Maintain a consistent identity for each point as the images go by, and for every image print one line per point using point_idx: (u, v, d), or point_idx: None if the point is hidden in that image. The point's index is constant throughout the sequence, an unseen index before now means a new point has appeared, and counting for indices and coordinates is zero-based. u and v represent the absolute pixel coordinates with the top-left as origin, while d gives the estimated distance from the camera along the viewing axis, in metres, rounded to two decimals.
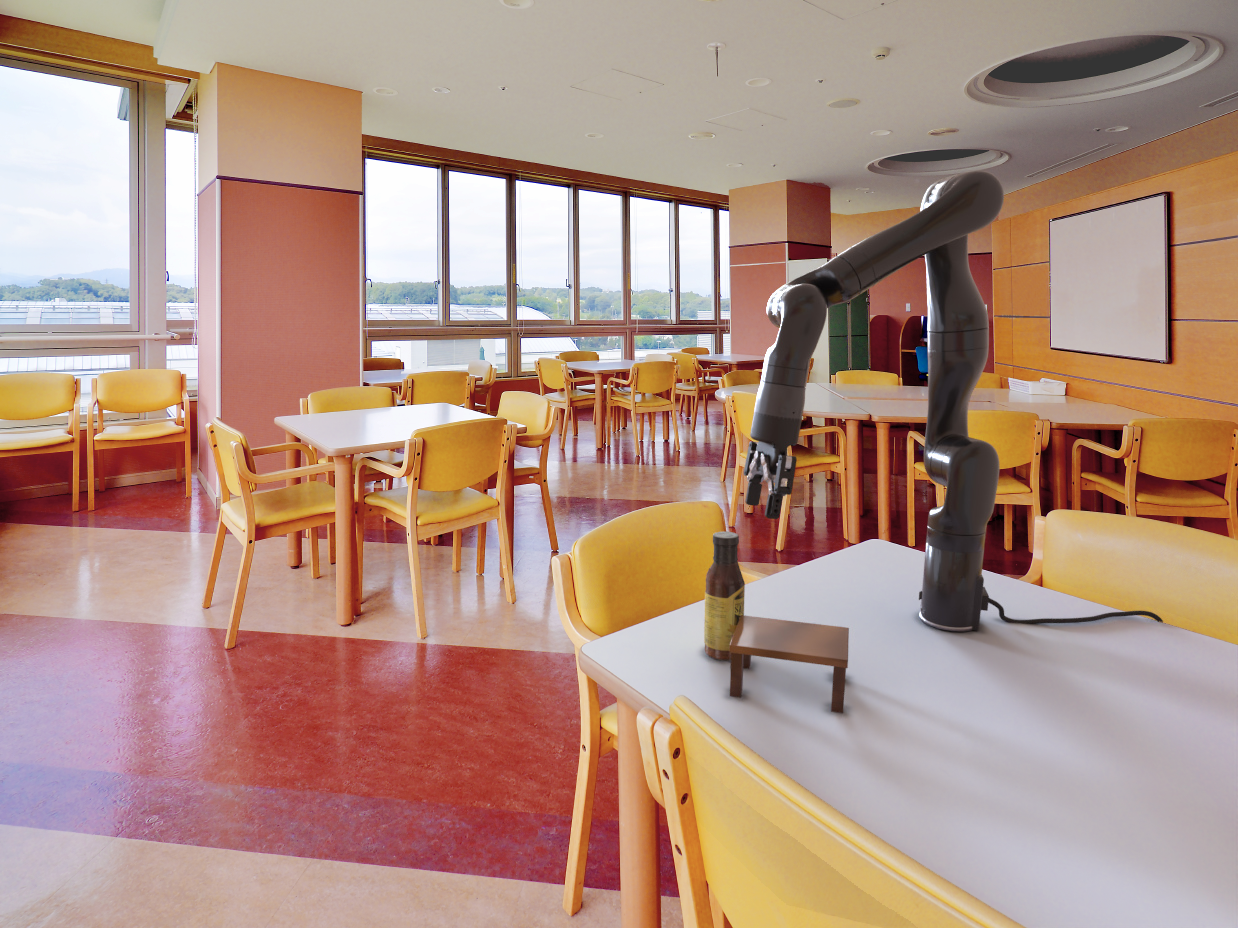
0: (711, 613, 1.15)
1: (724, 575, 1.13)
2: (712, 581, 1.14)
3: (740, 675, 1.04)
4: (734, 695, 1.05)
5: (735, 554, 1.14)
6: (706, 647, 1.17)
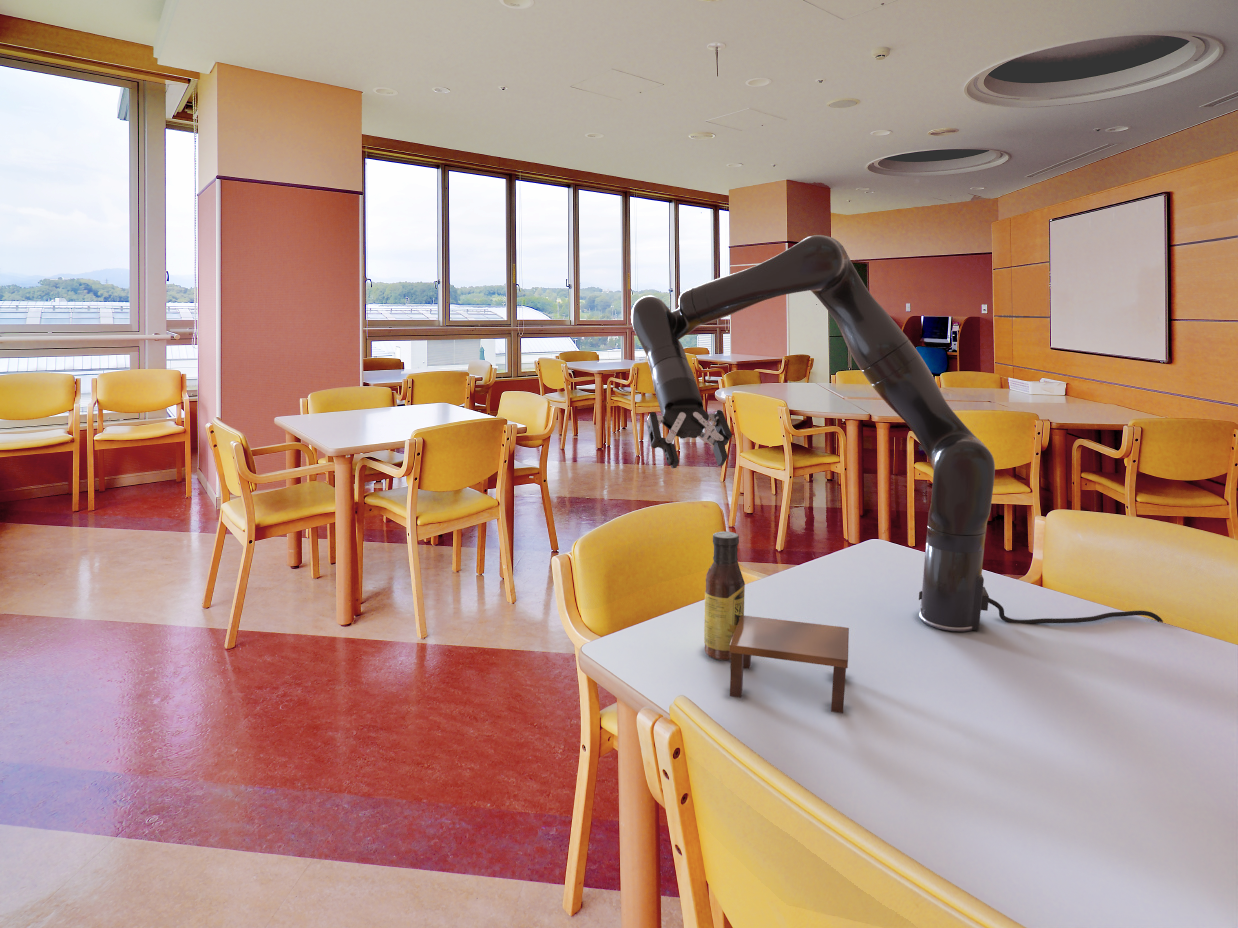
0: (711, 613, 1.15)
1: (724, 575, 1.13)
2: (712, 581, 1.14)
3: (740, 675, 1.04)
4: (734, 695, 1.05)
5: (735, 554, 1.14)
6: (706, 647, 1.17)
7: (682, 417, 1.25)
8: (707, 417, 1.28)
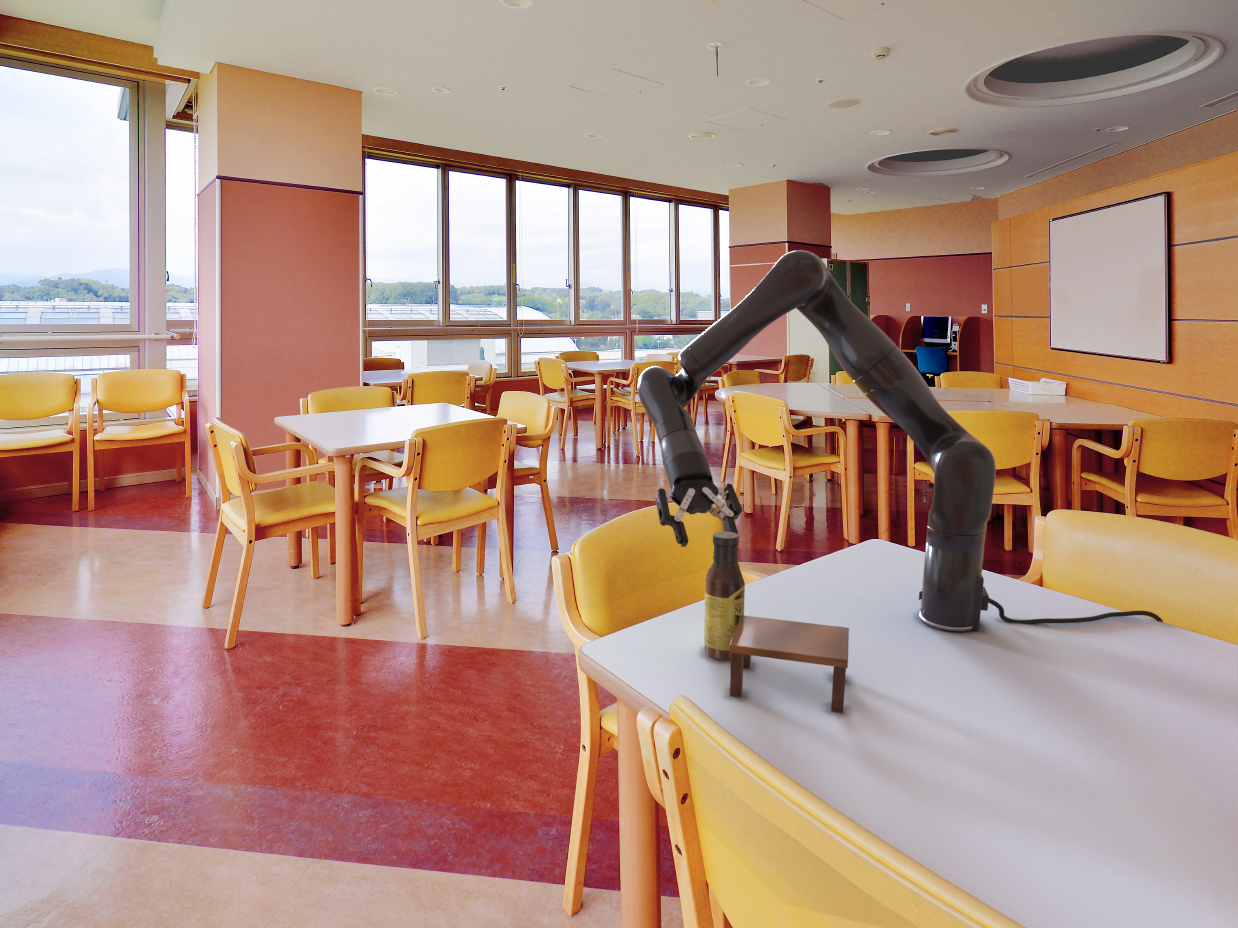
0: (711, 613, 1.15)
1: (724, 575, 1.13)
2: (712, 581, 1.14)
3: (740, 675, 1.04)
4: (734, 695, 1.05)
5: (735, 554, 1.14)
6: (706, 647, 1.17)
7: (691, 493, 1.24)
8: (717, 491, 1.26)
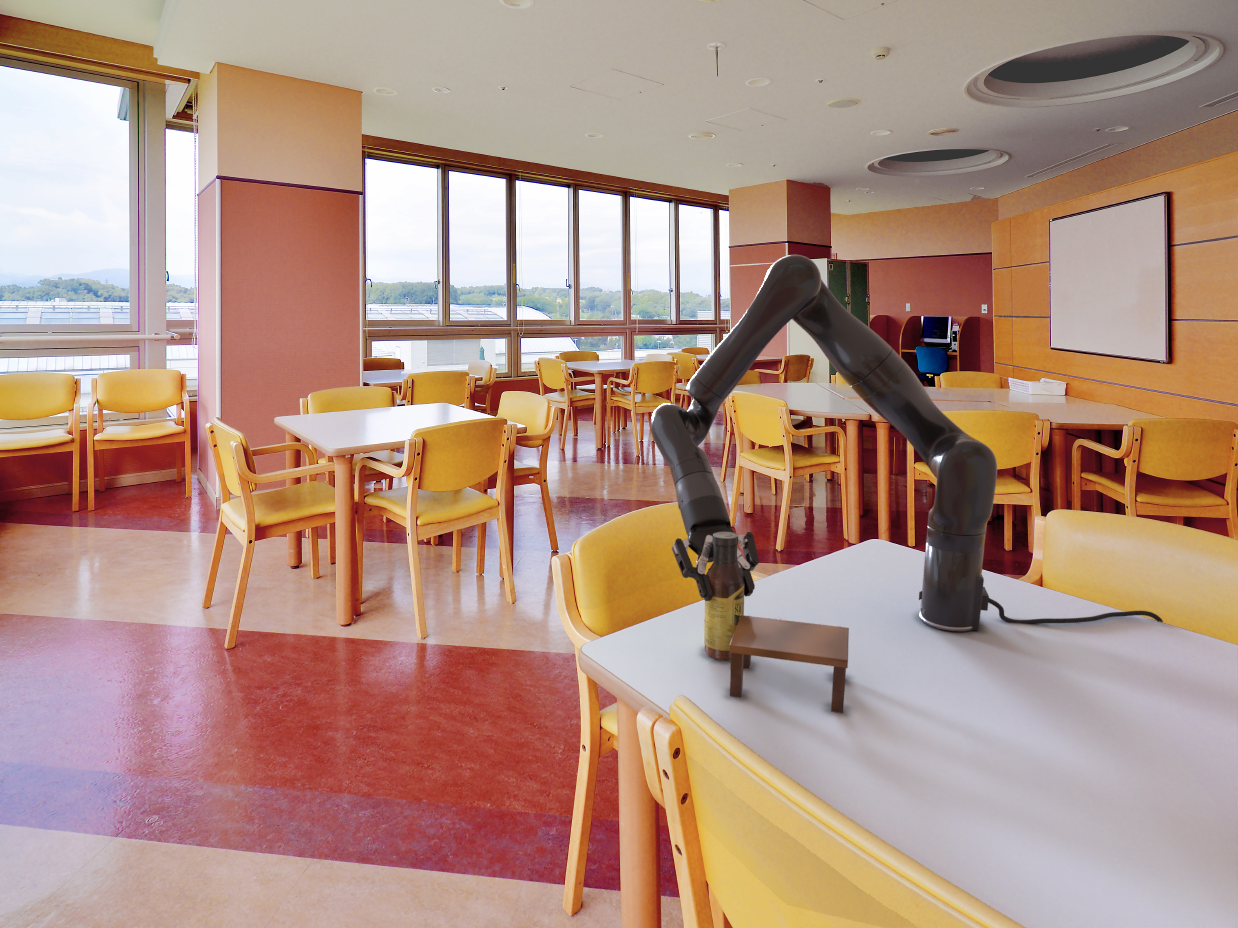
0: (711, 613, 1.15)
1: (724, 575, 1.13)
2: (711, 581, 1.14)
3: (740, 675, 1.04)
4: (734, 695, 1.05)
5: (735, 554, 1.14)
6: (706, 647, 1.17)
7: (709, 541, 1.17)
8: None
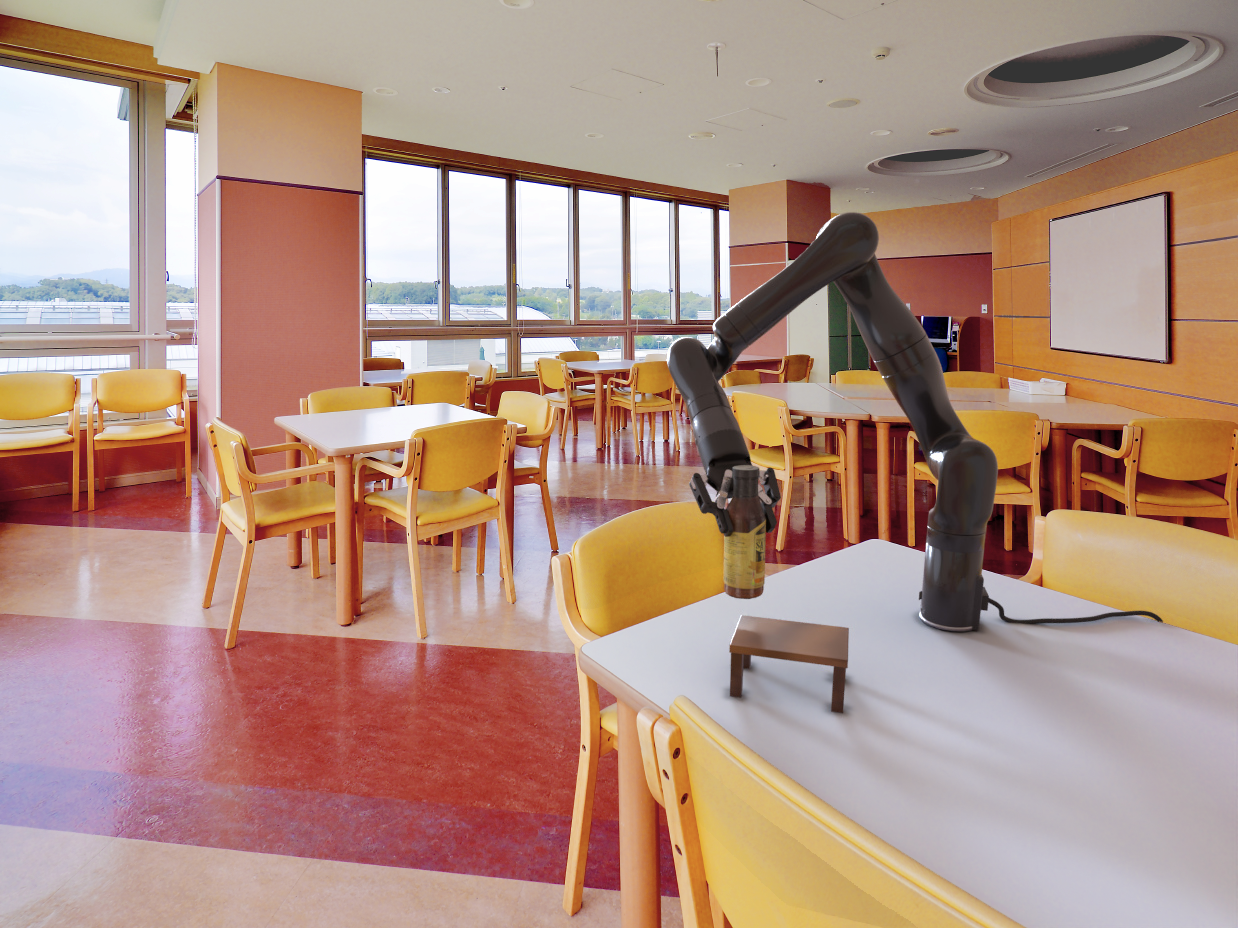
0: (731, 549, 1.09)
1: (745, 509, 1.08)
2: (731, 516, 1.09)
3: (740, 675, 1.04)
4: (734, 695, 1.05)
5: (756, 487, 1.09)
6: (726, 586, 1.12)
7: (728, 475, 1.12)
8: None
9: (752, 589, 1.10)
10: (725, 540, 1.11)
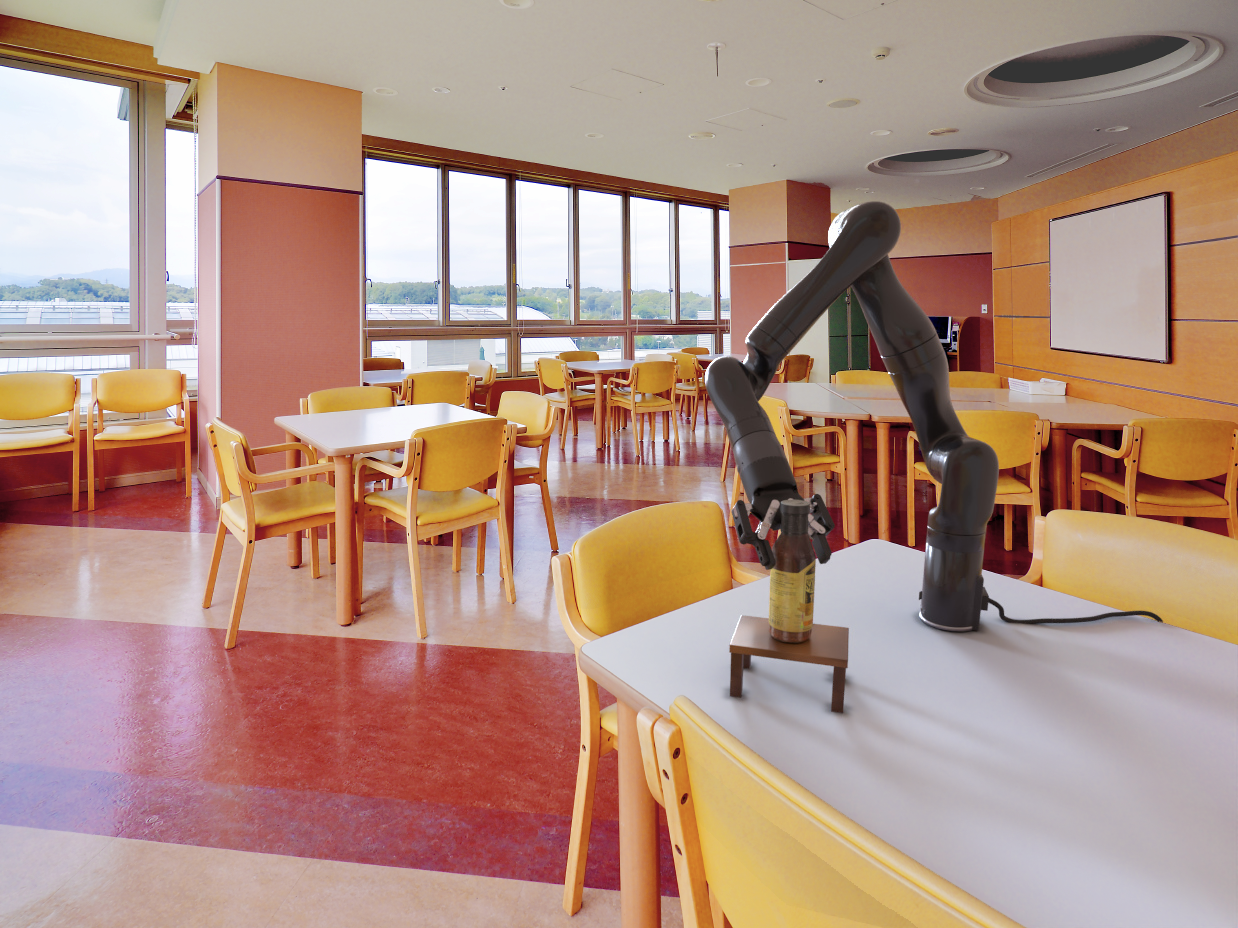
0: (778, 590, 1.03)
1: (795, 547, 1.01)
2: (780, 554, 1.02)
3: (740, 675, 1.04)
4: (734, 695, 1.05)
5: (806, 524, 1.02)
6: (771, 629, 1.05)
7: (775, 506, 1.05)
8: None
9: (800, 632, 1.03)
10: (772, 579, 1.04)
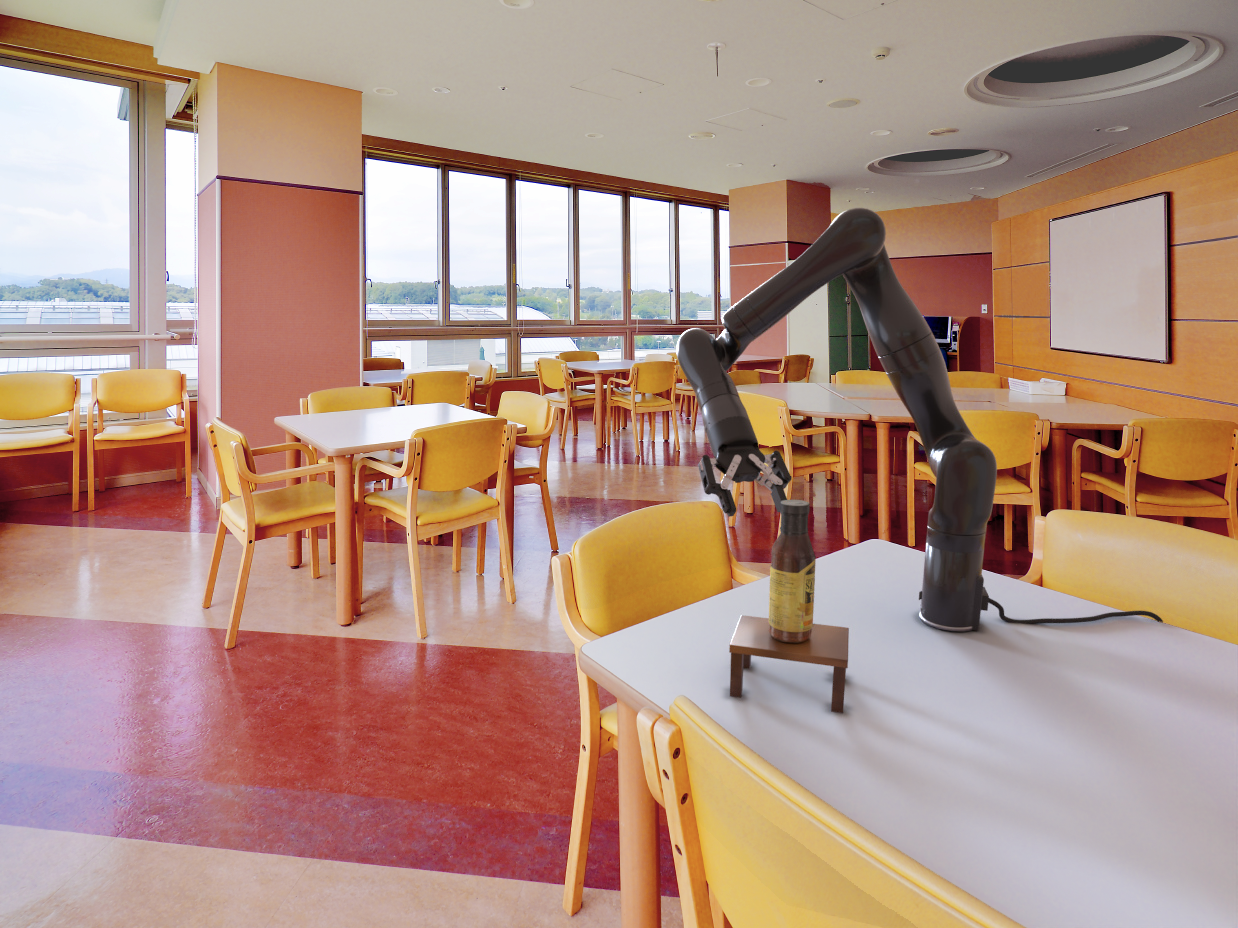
0: (778, 590, 1.03)
1: (794, 547, 1.01)
2: (779, 554, 1.02)
3: (740, 675, 1.04)
4: (734, 695, 1.05)
5: (806, 524, 1.02)
6: (771, 629, 1.05)
7: (737, 460, 1.16)
8: (763, 459, 1.18)
9: (800, 632, 1.03)
10: (772, 579, 1.04)
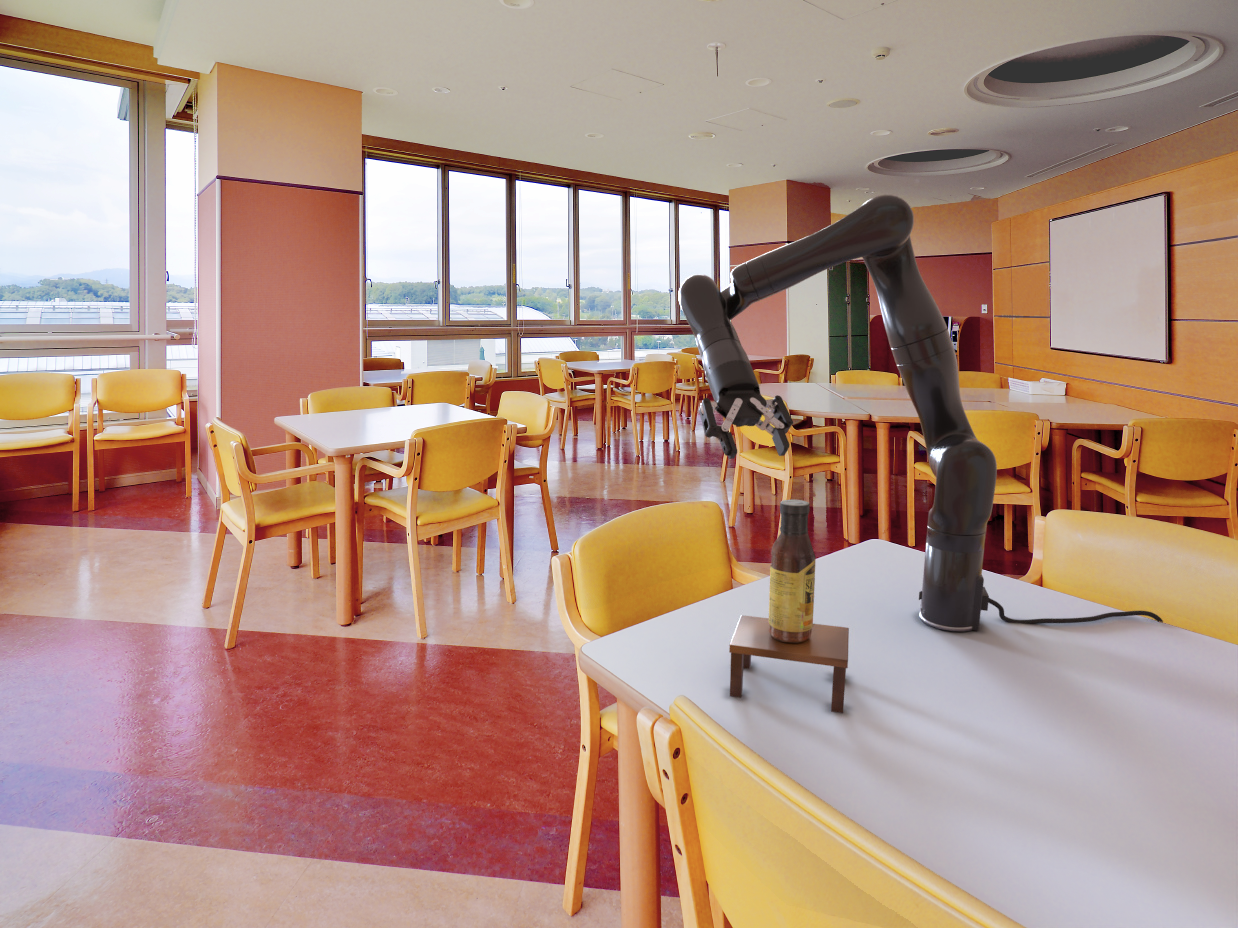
0: (778, 590, 1.03)
1: (794, 547, 1.01)
2: (779, 554, 1.02)
3: (740, 675, 1.04)
4: (734, 695, 1.05)
5: (806, 524, 1.02)
6: (771, 629, 1.05)
7: (738, 403, 1.14)
8: (765, 403, 1.17)
9: (800, 632, 1.03)
10: (771, 579, 1.04)
